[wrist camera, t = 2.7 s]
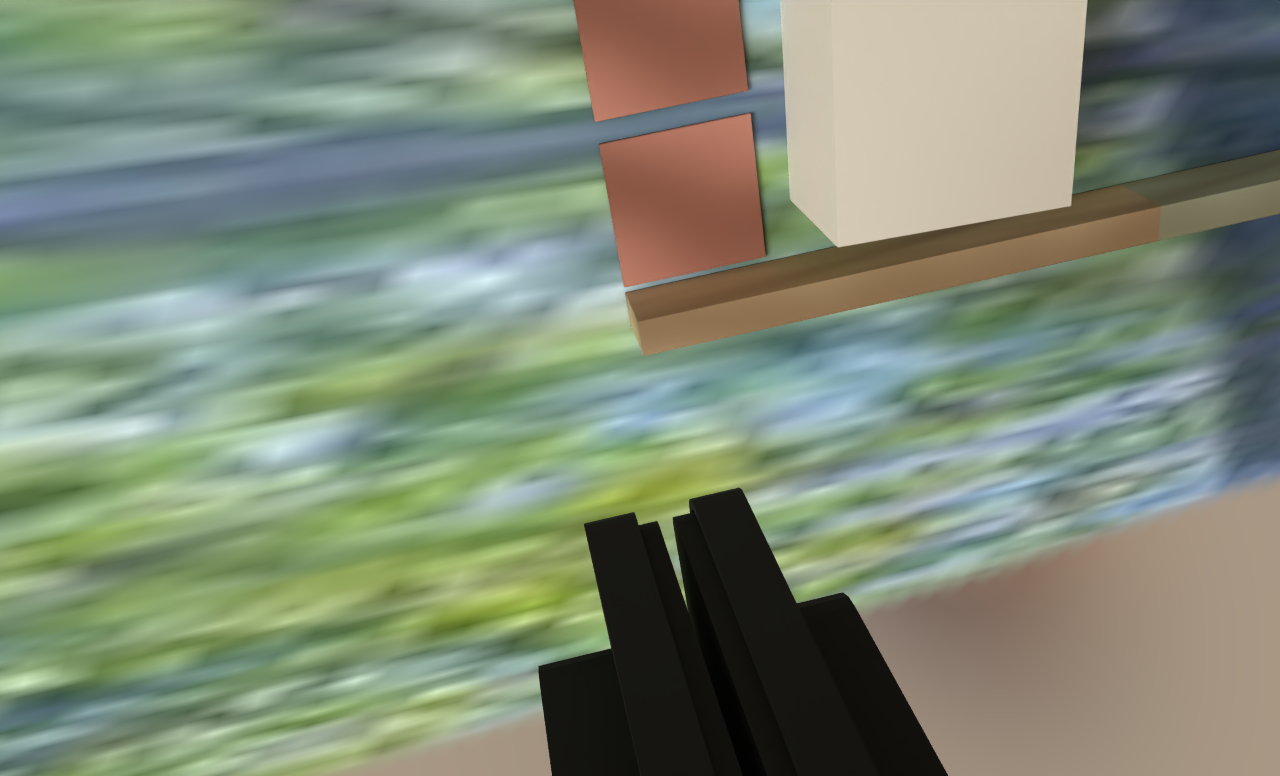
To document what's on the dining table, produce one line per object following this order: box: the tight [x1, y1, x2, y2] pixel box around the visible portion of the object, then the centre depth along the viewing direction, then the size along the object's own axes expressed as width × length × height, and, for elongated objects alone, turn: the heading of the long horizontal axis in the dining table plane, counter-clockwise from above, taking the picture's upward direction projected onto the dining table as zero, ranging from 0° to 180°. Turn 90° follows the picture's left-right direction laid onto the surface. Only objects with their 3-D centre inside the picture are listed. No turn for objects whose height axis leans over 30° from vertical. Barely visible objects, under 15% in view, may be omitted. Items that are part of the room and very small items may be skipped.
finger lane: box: [573, 0, 1280, 356], centre depth 28 cm, size 11×23×2 cm, turn 99°
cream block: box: [780, 0, 1087, 247], centre depth 27 cm, size 6×6×4 cm
